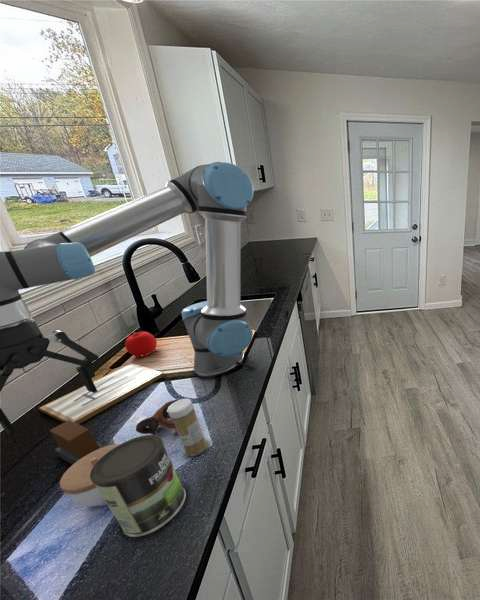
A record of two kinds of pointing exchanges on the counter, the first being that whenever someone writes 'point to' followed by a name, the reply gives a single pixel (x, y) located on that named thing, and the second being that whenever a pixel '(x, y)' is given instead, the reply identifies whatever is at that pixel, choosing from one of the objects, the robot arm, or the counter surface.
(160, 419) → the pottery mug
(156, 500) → the coffee can
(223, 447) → the counter surface
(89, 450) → the eraser
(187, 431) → the sprinkles bottle
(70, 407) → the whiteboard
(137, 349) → the fruit
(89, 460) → the trinket box
